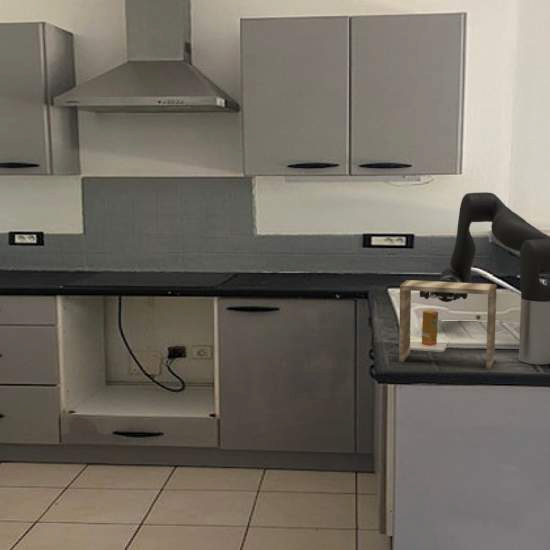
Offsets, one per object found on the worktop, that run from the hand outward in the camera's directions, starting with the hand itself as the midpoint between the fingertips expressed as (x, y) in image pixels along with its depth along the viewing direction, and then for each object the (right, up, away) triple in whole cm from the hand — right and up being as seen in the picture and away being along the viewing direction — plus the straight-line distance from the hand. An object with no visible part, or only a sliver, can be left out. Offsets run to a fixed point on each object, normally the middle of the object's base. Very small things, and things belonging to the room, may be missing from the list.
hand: (440, 296), depth 251 cm
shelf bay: (-3, -17, -24) cm, 29 cm away
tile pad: (-5, -14, -7) cm, 17 cm away
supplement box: (-5, -14, -7) cm, 16 cm away
